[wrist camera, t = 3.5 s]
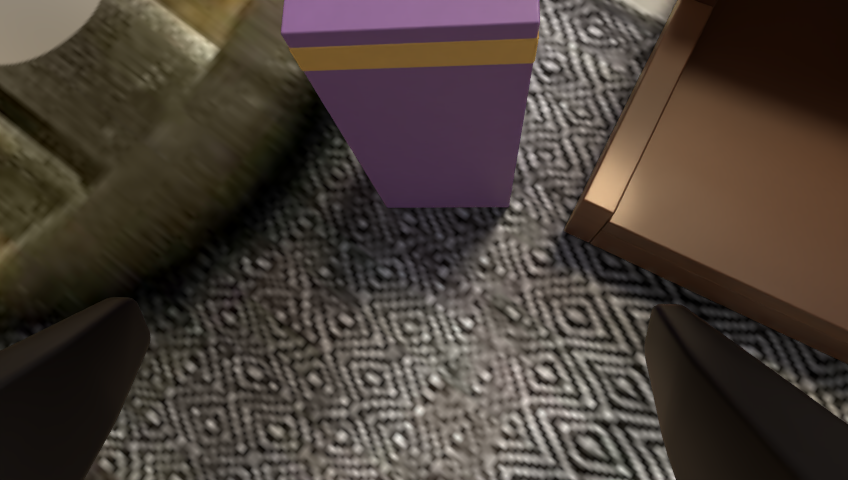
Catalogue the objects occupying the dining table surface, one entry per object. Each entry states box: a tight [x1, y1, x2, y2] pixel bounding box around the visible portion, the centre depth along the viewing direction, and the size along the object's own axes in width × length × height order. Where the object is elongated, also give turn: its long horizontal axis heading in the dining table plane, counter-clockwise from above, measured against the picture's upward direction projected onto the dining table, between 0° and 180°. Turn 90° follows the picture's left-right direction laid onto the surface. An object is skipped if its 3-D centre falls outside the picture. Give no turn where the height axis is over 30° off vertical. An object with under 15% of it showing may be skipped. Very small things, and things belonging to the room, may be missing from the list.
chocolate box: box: [281, 0, 540, 208], centre depth 18 cm, size 4×6×13 cm
